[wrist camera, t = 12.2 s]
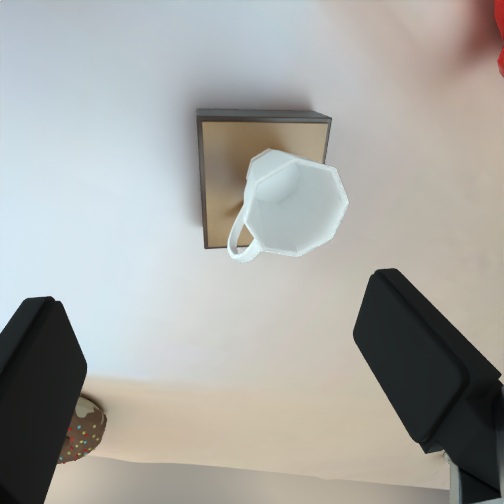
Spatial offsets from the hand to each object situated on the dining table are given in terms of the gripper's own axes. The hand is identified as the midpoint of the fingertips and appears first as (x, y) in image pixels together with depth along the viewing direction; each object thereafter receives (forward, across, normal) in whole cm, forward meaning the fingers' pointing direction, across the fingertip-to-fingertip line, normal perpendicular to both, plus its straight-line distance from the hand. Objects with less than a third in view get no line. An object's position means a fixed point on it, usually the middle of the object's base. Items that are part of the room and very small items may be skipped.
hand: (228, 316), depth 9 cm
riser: (+23, -5, +3) cm, 23 cm away
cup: (+18, -5, +2) cm, 19 cm away
